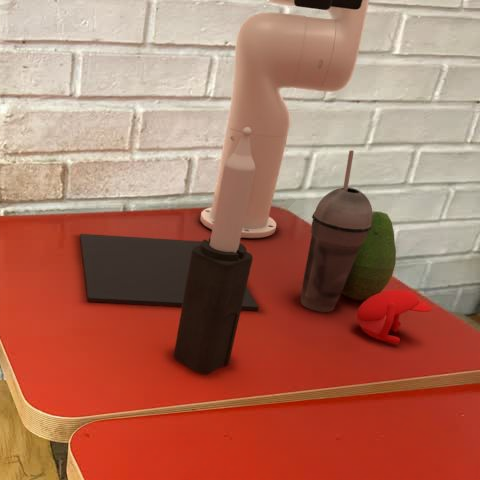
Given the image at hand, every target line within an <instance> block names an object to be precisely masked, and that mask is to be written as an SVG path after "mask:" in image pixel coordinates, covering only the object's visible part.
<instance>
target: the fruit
mask: <svg viewBox="0 0 480 480" xmlns="http://www.w3.org/2000/svg"><path fill="white" fill-rule="evenodd" d="M396 258H397V249H396V241H395V232H394V225H393V222H392V220H391V217H390V216H389V215H388V213H385V212H382V211H373V210H372V222H371V230H369V232H368V235H367V237H366V239H365V240H364V242H363V243H362V244H361V247H360V249H359V251H358V254H357V256H356V259H355V261H354V263H353V266H352V268H351V271H350V273H349V276H348V278H347V280H346V283H345V285H344V288H343V290H342V292H341V294H343V295H344V296H346V297H347V298H349V299H352V300H354V301H366V300H367V299H368V298H370V297H372V296H374V295H376V294H378V293H381V292H383V290H384V289H385V288H386V287H387V285H388V284H389V282H390V281H391V279H392V277H393V275H394V271H395V267H396V261H397V260H396Z"/></svg>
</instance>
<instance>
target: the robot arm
mask: <svg viewBox="0 0 480 480" xmlns="http://www.w3.org/2000/svg"><path fill="white" fill-rule="evenodd" d="M265 1H267V2H269V3H272V4H275V5H281V6H288V7H296V8H305V9H312V10H313V9H314V10H321V11H326V13H328V15H329V18H322V17H313V16H306V15H301V14H292V13H283V12H270V11H269V12H260V13H256V14H253V15H251V16H249V17H248V18H247V19H245V20H244V22H243V23H242V24H241V26H240V27H239V30H238V33H237V36H236V41H235V49H234V50H235V51H234V71H233V83H232V91H231V92H232V93H231V100H230V105H229V111H228V118H227V124H226V129H225V132H224V133H225V134H224V139H223V146H222V149H221V150H222V151H221V156H220V159H219V166H218V171H217V177H216V183H215V188H214V193H213V198H212V204H211V207H207V208H205V209H203V210H202V211H201V213H200V218H199V219H200V220H199V221H200V222H201V223H202V225H203V226H204V227H206V228H207V229H210V230H211V231H212V229H213V223H214V218H215V213H216V208H217V202H218V197H219V192H220V186H221V181H222V176H223V170H224V165H225V162H226V161H227V159H228V158H229V157H230V156H231V155H232V154H233V153H234V151H235V149H236V147H237V145H238V143H239V141H240V139H241V138H242V136H243V134H242V131H243V129H244V128H246V127H249V128H250V129H251V135H250V149H251V156H252V159H253V161H254V164H255V173H254V177H253V182H252V187H251V191H250V196H249V201H248V205H247V210H246V215H245V220H244V224H243V229H242V234H241V238H240V239H242V238H243V239H263V238H267V237H271V236H272V235H274V234H275V232H276V228H277V222H276V221H275V220H274V219H273V218H272V217H271V216H270V213H271V210H272V204H273V200H274V195H275V191H276V189H277V188H276V187H277V183H278V179H279V175H280V170H281V165H282V161H283V158H284V155H285V154H284V153H285V150H286V149H285V148H286V144H287V140H288V137H289V131H290V128H291V113H290V110H289V107H288V105H287V103H286V102H285V100H284V98H283V96H282V95H281V92H280V90H281V89H284V88H285V89H299V90H308V91H315V92H326V93H327V92H328V93H333V92H338V91H340V90H343V89H344V88H346V86H347V85H348V84H349V82H350V81H351V79H352V77H353V74H354V71H355V68H356V65H357V61H358V56H359V53H360V47H361V43H362V38H363V32H364V28H365V23H366V17H367V12H368V8H369V2H370V0H265Z"/></svg>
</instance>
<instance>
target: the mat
mask: <svg viewBox="0 0 480 480" xmlns="http://www.w3.org/2000/svg"><path fill="white" fill-rule="evenodd" d="M79 240H80V248H81V257H82V264H83V265H82V266H83V273H84V280H85V289H86V298H87V302H88V303H100V304H101V303H104V304H121V305H142V306H157V307H158V306H160V307H161V306H162V307H163V306H164V307H177V308H182V305H183V299H184V293H185V288H186V282H187V276H188V270H189V265H190V259H191V253H192V249H193V248H194V247H196V246H200V245H201V243H202V241H203V240H202V241H200V240H185V239H168V238H152V237H137V236H123V235H108V234H107V235H105V234H91V233H90V234H89V233H79ZM241 311H254V312H258V311H259V305H258V304H257V302H256V299H255V298H254V297H253V295H252V293H251V290H249V287H248V285H247V286H246V290H245V295H244V299H243V303H242V308H241Z"/></svg>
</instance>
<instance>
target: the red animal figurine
mask: <svg viewBox="0 0 480 480" xmlns="http://www.w3.org/2000/svg"><path fill="white" fill-rule="evenodd" d="M408 311H412V312H419V313H427V312H431V311H433V308H432V306H431V305H430V304H428V303H427V302H425V301H423V300H421V299H419V298H418V295H416V294H415V293H414V292H412V291H409V290H407V289H389V290H384V291H381V292H380V293H378V294H376V295H374V296H372V297H370V298H368V299H365V300H364V301H363V302H362V303H361V304H360V306H359V307H358V309H357V312H356V318H357V321H358V324H359V326H360V329H361V331H363V332H364V333H365V334H367V335H368V336H369V337H371V338H374V339H376V340H379V341H383V342H386V343H390V344H394V345H398V344H399V343H400V342H401V339H400V337H398V336H394V335H390V334H389V332H390V331H391V332H392V333H397V332H398V331H399V328H400V326H401V325H402V323H401V321H400V316H401V315H402V314H404V313H406V312H408Z"/></svg>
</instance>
